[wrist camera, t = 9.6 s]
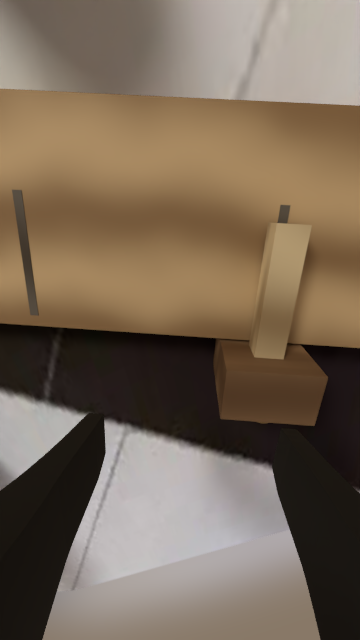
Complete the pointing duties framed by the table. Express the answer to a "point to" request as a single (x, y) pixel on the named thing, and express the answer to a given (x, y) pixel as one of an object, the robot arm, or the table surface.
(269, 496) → the table surface
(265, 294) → the brown block with bar
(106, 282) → the oak board
